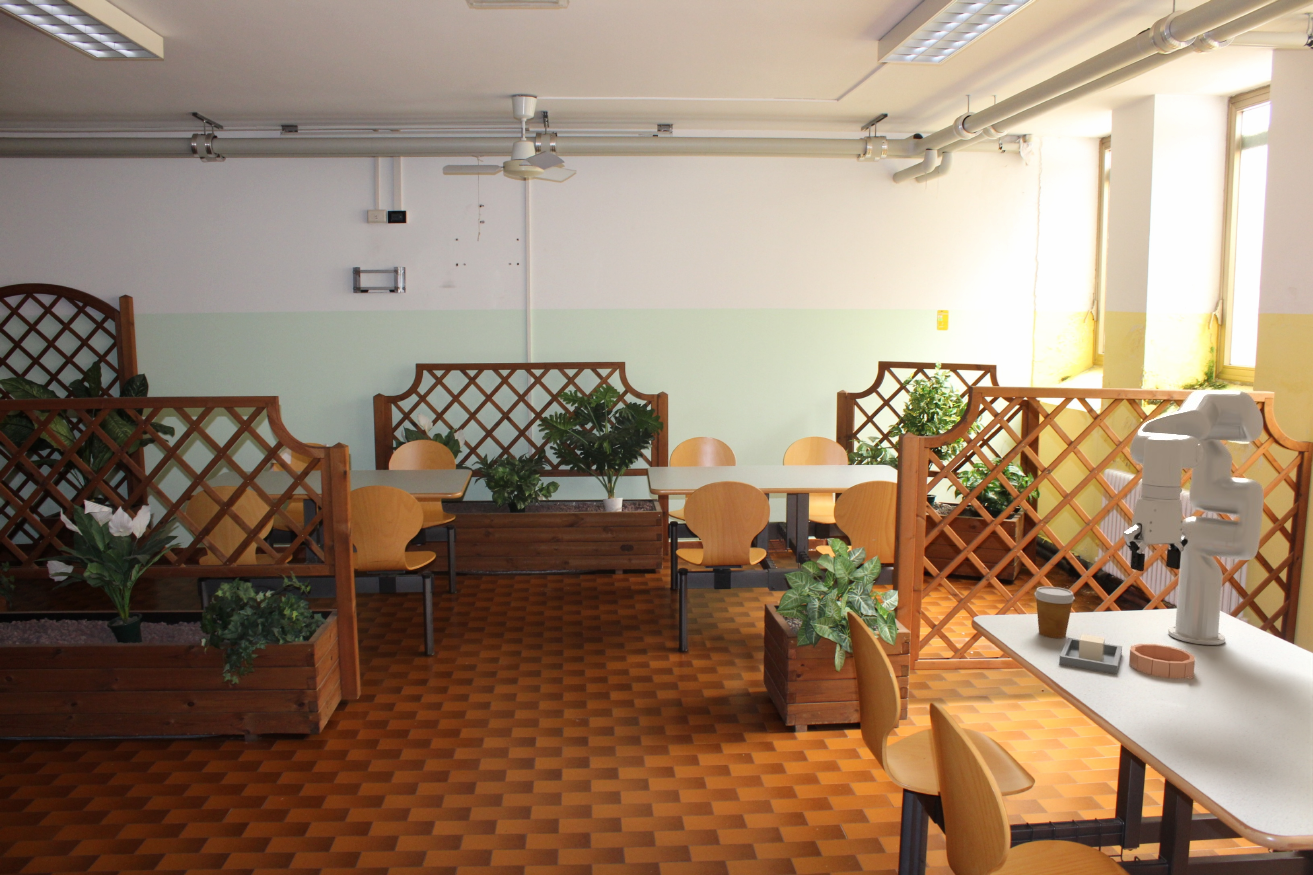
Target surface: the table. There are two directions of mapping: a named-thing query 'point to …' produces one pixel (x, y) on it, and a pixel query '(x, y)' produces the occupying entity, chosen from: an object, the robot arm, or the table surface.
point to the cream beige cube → (1091, 647)
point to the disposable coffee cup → (1053, 610)
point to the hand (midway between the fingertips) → (1155, 568)
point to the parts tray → (1108, 665)
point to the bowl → (1162, 661)
